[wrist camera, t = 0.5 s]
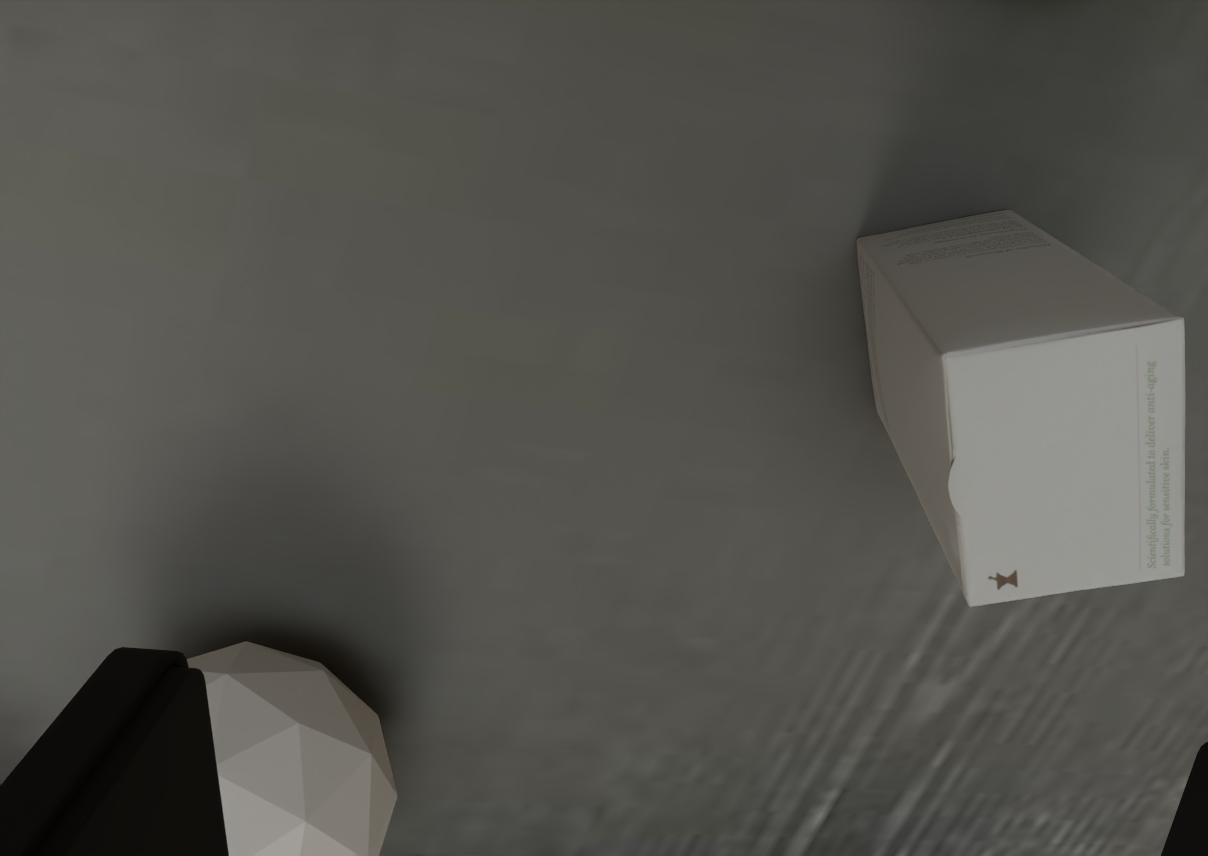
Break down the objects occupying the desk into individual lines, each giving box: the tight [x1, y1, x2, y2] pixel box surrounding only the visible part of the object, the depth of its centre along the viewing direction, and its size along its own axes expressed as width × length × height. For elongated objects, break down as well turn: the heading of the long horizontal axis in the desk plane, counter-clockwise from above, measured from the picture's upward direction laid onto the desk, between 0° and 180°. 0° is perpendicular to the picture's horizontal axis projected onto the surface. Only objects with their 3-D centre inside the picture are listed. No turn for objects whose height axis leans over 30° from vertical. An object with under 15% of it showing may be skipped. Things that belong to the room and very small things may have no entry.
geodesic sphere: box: [187, 641, 397, 856], centre depth 46 cm, size 15×14×14 cm
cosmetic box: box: [857, 209, 1185, 607], centre depth 35 cm, size 8×7×16 cm
